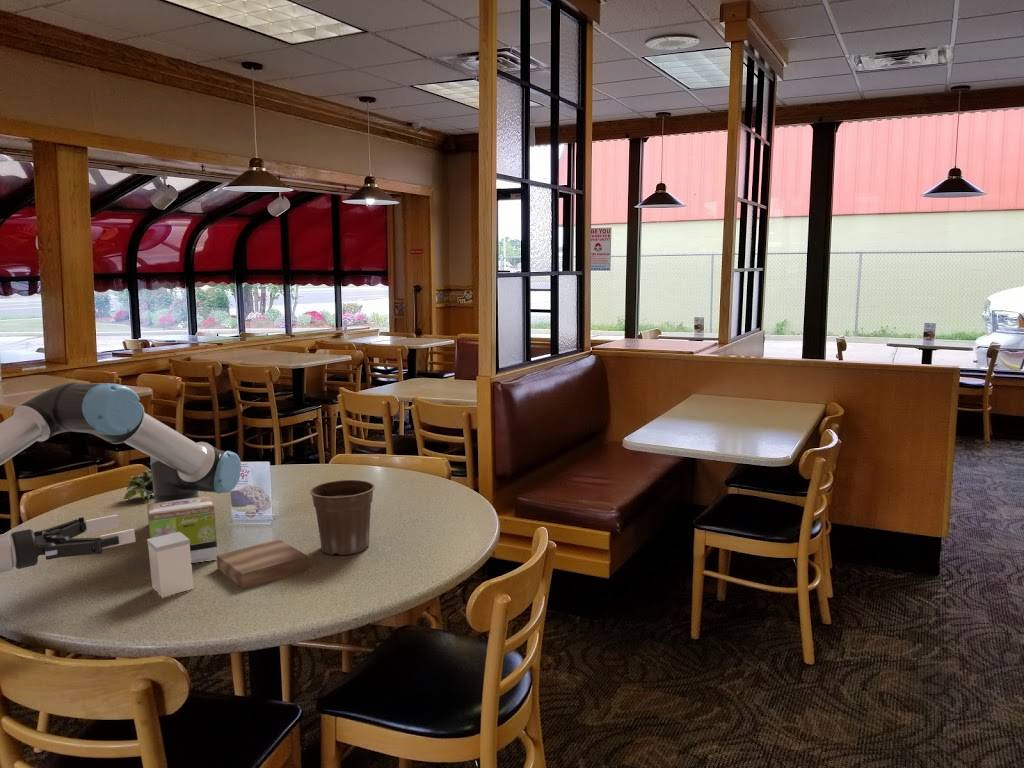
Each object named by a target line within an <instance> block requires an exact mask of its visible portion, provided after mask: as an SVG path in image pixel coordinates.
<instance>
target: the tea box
mask: <svg viewBox="0 0 1024 768" xmlns="http://www.w3.org/2000/svg"><path fill="white" fill-rule="evenodd" d="M146 506H147V520H148V521H147V522H148V530H149V531H148V532H149V533H148V534H149V539H150V538H154V537H159V536H163V535H167V534H172V533H176V532H181V533H182V534H183V535H185V536H186V537H187V538H188V539H190V553H191V563H194V562H200V561H206V560H212V559H217V555H218V542H217V541H218V540H217V527H216V513H215V512H216V511H215V504H214V503H213V500H212V499H211V496H210V495H207V496H206V495H205V496H199V497H197V498H190V499H182V500H175V501H167V502H160V503H154V502H153V503H148V504H147V503H146Z"/></svg>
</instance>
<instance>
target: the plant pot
mask: <svg viewBox="0 0 1024 768" xmlns="http://www.w3.org/2000/svg"><path fill="white" fill-rule="evenodd" d="M375 488H376V486H375V484H374V483H373V482H371V481H367V480H361V479H342V480H332V481H328V482H327V481H326V482H323V483H320V484H317V485H315V486H313V487H311V489H310V490H309V494H310V495H311V496H312V497H311V498H312V502H313V507H314V509H315V512H316V513H315V514H316V519H317V527H318V532H319V540H320V548H321V551H322V552H323V553H325V554H327V555H332V556H333V555H335V554H337V555H339V556H347V555H348V556H349V555H355V554H358V553H361V552H364V551H366V549H367V548H369V546H370V530H371V529H370V527H371V508H372V506H371V505H372V503H373V495H374V493H373V492H374V490H375Z"/></svg>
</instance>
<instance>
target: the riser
mask: <svg viewBox="0 0 1024 768" xmlns="http://www.w3.org/2000/svg"><path fill="white" fill-rule="evenodd" d="M308 560H309V559H308V555H307V554H305V553H303V552H302V551H301V550H298V549H296V548H295V547H293V546H292V545H290V544H288V543H286V542H285V541H283V540H282V539H280V538H278V539H274V540H270V541H267V542H263V543H259V544H255V545H251V546H248V547H244V548H240V549H236V550H233V551H232V550H231V551H228V552H225V553H220V554H217V560H216V564H217V570H218V569H219V570H221V571H222V572H223V573H224V574H223V573H222V572H221V571H220V572H221V573H222V574H223V575H225V574H226V575H227V576H228V577H227V576H226V575H225V576H226V577H227V578H229V580H231V579H232V580H231V581H233V582H234V583H235V584H236V585H237V586H239V587H240V588H242V589H243V590H244V589H249V588H251V587H255V586H257V585H261V584H263V583H264V584H265V583H268V582H272V581H275V580H278V579H281V578H284V577H288V576H292V575H294V574H298V573H301V572H305V571H308V570H309V563H308V562H309V561H308ZM219 570H218V571H219Z"/></svg>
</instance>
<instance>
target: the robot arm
mask: <svg viewBox="0 0 1024 768" xmlns="http://www.w3.org/2000/svg"><path fill="white" fill-rule="evenodd" d="M140 400H141V399H140V396H139V395H138V394H137V393H136V391H134V390H133V389H132V388H130V387H128V386H125V385H122V384H118V383H112V382H111V383H110V382H107V383H85V382H67V383H62V384H59V385H55V386H53V387H51V388H49V389H46V390H45V391H43V392H41V393H39V394H37V395H35V396H33V397H32V398H30V399H27V400H26V401H24V402H23V403H22V404H20V405H19V406H17V407H16V408H14V411H13V415H12V416H9V418H7V419H5V420H4V421H2V422H0V466H1V465H3V464H4V463H6V462H8V461H9V460H11V459H12V458H13V457H15V456H16V455H18V454H19V453H21V452H23V451H24V450H25V449H27V448H28V447H30V446H32V445H33V444H34V443H35V442H45V441H47V440H49V439H50V438H51V437H54V436H55V435H57V434H61V433H66V432H72V433H73V432H74V433H88V434H91V435H94V436H97V437H99V438H101V439H102V440H104V441H106V442H108V443H110V444H114V445H115V444H116V445H117V444H118V445H119V444H123V443H124V444H126V445H128V446H130V447H132V448H134V449H136V450H137V451H140V453H141V452H142V453H143V454H145V455H147V456H148V457H150V463H149V466H150V471H151V474H152V483H153V491H154V494H153V499H154V501H153V503H160V502H167V501H175V500H182V499H190V498H197V497H200V495H199V492H205V493H206V492H207V493H216V494H228V493H230V492H232V490H234V489H235V487H237V485H238V483H239V481H240V478H241V475H240V471H241V472H242V461H241V458H240V457H239V455H238V454H237V453H235V452H233V451H231V450H226V451H225V450H220V449H218V448H217V447H214V446H213V445H211V444H210V443H208V442H205V441H198V442H195V441H194V440H192V439H190V438H188V437H187V436H185V435H183V434H182V433H180V432H178V431H177V430H175V429H173V428H171V427H170V426H169V425H167V424H165V423H163V422H161V421H159V420H158V419H156V418H154V417H153V416H151V415H149V414H148V413H146V412H145V408H144V405H143V403H141V402H140ZM119 520H120V519H119V515H118V514H113V515H107V516H102V517H97V518H91V519H88V520H87V519H86V520H85V517H83V516H82V517H78V518H75V519H74V520H70V521H66V522H64V523H61V524H58V525H55V526H52V527H49V528H46V529H42V530H37V531H33V530H32V529H23V530H22V529H21V530H17V531H14V532H12V533H10V535H9V534H8V533H2V534H0V574H1V573H6V572H11V571H12V570H13V569H14V567H15V569H18V570H20V569H25V568H30V567H34V566H36V565H37V564H38V561H39V559H38V558H39V556H45V560H48V561H49V560H54V559H59V558H68V557H69V558H71V557H79V556H90V555H101V554H103V549H108V548H112V547H113V548H114V547H118V546H122V545H127V544H132V543H136V532H135V528H130V529H125V530H121V531H117V532H116V531H115V532H112V533H107V534H103V535H99V537H77V536H79V535H81V534H84V533H85V532H86V534H90V533H95V532H99V531H104V530H110V529H113V528H114V529H115V528H119V527H120V522H119Z"/></svg>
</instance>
